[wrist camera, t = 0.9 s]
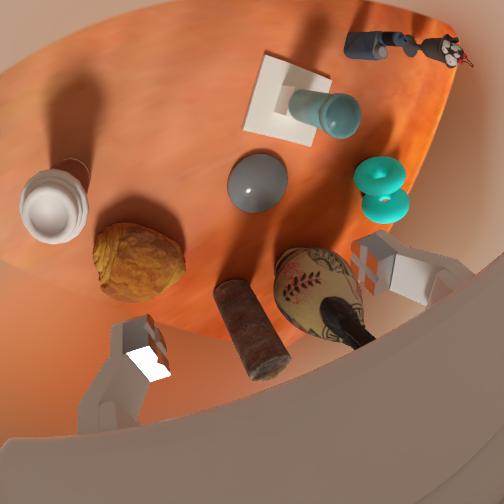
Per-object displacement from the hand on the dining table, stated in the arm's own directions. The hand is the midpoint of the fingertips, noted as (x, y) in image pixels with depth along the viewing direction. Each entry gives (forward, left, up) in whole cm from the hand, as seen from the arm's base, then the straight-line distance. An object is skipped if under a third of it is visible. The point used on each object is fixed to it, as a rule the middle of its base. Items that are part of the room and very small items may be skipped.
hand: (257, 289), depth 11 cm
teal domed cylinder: (+16, +8, -28) cm, 33 cm away
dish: (+15, -6, -33) cm, 37 cm away
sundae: (+38, +30, -33) cm, 59 cm away
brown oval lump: (-3, -21, -33) cm, 40 cm away
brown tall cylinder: (+16, -28, -33) cm, 46 cm away
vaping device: (+24, +22, -33) cm, 46 cm away
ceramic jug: (+28, -21, -33) cm, 48 cm away
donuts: (+38, -1, -33) cm, 51 cm away
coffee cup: (-14, -8, -33) cm, 37 cm away
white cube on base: (+16, +8, -33) cm, 38 cm away
